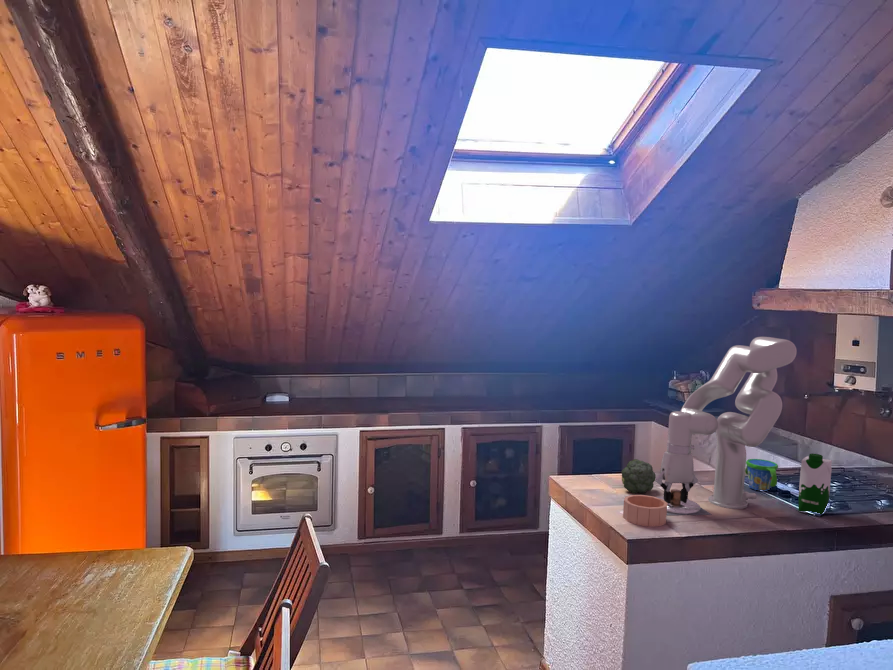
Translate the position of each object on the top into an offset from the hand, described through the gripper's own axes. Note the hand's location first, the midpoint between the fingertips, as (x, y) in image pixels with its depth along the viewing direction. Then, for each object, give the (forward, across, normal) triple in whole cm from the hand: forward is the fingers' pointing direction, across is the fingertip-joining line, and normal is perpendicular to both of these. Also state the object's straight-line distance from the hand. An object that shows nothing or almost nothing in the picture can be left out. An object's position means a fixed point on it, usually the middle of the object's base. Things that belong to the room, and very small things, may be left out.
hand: (675, 501), depth 235 cm
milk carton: (+2, -46, +7) cm, 47 cm away
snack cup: (+2, -43, -18) cm, 47 cm away
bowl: (+2, +16, +11) cm, 20 cm away
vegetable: (+2, +6, -18) cm, 20 cm away
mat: (+2, 0, 0) cm, 2 cm away
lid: (+2, 0, 0) cm, 2 cm away
